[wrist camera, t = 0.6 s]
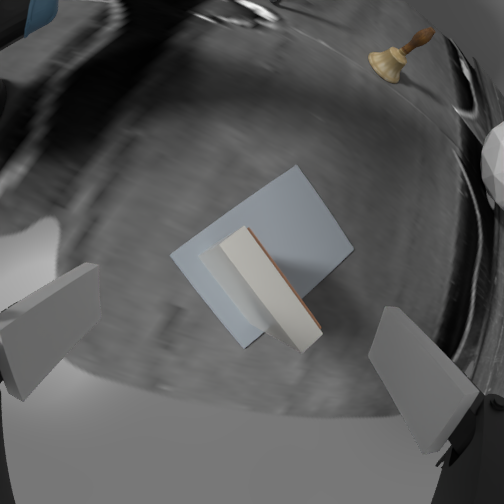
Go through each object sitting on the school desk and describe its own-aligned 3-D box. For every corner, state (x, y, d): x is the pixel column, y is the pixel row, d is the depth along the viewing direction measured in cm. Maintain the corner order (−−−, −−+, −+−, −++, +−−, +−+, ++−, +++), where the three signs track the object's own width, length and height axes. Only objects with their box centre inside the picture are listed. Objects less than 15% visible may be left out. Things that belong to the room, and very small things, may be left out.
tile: (250, 323, 34) (302, 353, 20) (197, 256, 33) (218, 244, 19) (265, 310, 34) (325, 331, 21) (215, 243, 33) (247, 222, 20)
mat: (243, 348, 34) (243, 348, 33) (169, 255, 32) (169, 255, 32) (352, 249, 39) (354, 249, 39) (295, 165, 37) (296, 164, 37)
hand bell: (377, 49, 46) (422, 11, 31) (403, 77, 47) (451, 43, 32) (361, 58, 44) (409, 14, 29) (389, 88, 45) (443, 50, 30)
